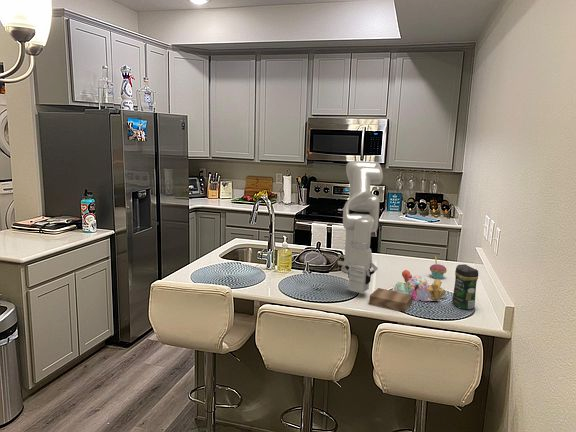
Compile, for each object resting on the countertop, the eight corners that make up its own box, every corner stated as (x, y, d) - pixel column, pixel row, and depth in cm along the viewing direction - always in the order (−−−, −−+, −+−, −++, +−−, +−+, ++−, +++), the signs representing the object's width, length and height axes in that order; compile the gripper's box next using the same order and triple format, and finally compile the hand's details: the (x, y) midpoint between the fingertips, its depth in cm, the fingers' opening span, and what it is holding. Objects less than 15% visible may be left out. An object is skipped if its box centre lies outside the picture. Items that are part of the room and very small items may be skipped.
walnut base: (368, 304, 195) (369, 295, 194) (377, 296, 205) (378, 287, 204) (405, 312, 187) (405, 303, 187) (412, 303, 198) (412, 295, 197)
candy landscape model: (448, 291, 217) (450, 273, 215) (443, 307, 196) (445, 287, 194) (396, 282, 227) (398, 265, 225) (387, 297, 205) (388, 278, 204)
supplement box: (354, 285, 211) (356, 260, 208) (369, 289, 207) (371, 263, 204) (347, 289, 205) (349, 264, 202) (362, 293, 201) (364, 267, 198)
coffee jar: (448, 302, 200) (452, 263, 197) (463, 301, 202) (468, 262, 199) (461, 311, 191) (466, 269, 188) (477, 309, 193) (482, 269, 190)
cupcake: (428, 278, 234) (430, 256, 232) (429, 273, 242) (431, 252, 239) (445, 280, 231) (447, 258, 229) (446, 276, 239) (448, 254, 236)
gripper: (340, 243, 202) (338, 280, 206) (377, 250, 194) (374, 288, 198) (346, 240, 209) (344, 275, 212) (382, 246, 201) (379, 283, 204)
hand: (359, 281), depth 205 cm, fingers closed on supplement box, 7 cm apart
